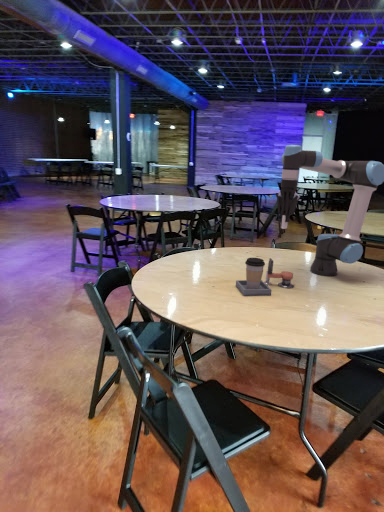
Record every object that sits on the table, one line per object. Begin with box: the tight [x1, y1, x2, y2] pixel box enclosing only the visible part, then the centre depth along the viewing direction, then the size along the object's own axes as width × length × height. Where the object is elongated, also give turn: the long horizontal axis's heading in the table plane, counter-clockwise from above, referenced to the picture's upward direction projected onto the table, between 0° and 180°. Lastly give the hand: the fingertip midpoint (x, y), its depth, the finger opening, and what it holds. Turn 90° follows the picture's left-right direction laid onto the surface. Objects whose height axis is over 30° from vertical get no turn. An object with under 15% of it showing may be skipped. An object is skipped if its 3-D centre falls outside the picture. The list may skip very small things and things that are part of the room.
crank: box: [267, 258, 294, 281], centre depth 175 cm, size 13×6×10 cm, turn 90°
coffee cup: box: [245, 257, 266, 289], centre depth 167 cm, size 9×9×15 cm
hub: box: [277, 278, 295, 289], centre depth 177 cm, size 8×8×4 cm
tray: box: [235, 279, 273, 297], centre depth 168 cm, size 14×14×3 cm
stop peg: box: [263, 270, 272, 286], centre depth 179 cm, size 4×4×7 cm
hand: (284, 228), depth 168 cm, fingers closed
